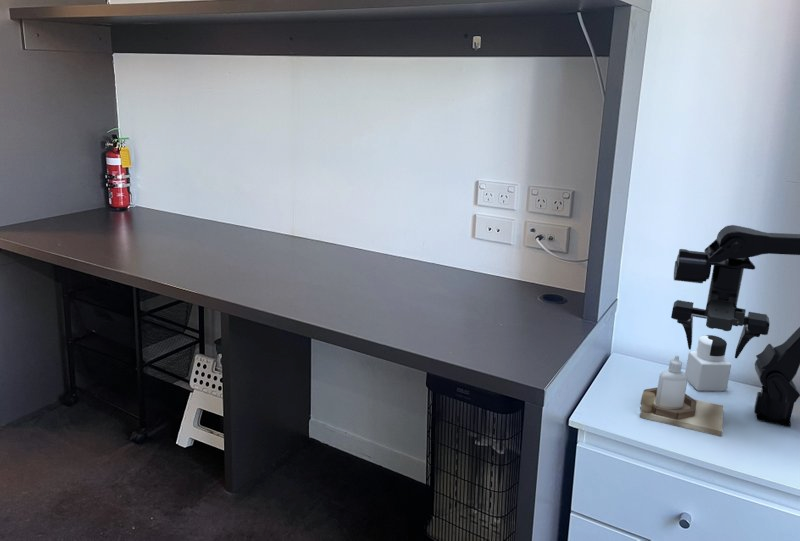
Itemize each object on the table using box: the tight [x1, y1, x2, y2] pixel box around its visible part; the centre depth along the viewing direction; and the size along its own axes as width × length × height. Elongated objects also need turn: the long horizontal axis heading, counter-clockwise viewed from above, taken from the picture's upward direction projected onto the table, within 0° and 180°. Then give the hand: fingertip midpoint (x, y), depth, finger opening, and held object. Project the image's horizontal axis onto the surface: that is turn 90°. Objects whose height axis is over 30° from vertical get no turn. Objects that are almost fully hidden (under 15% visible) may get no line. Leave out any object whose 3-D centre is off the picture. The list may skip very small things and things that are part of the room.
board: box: [639, 387, 724, 437], centre depth 145 cm, size 16×12×5 cm
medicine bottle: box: [684, 334, 732, 392], centre depth 157 cm, size 7×7×12 cm
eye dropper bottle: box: [655, 355, 688, 409], centre depth 144 cm, size 4×6×12 cm
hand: (712, 353), depth 145 cm, fingers open, 9 cm apart
